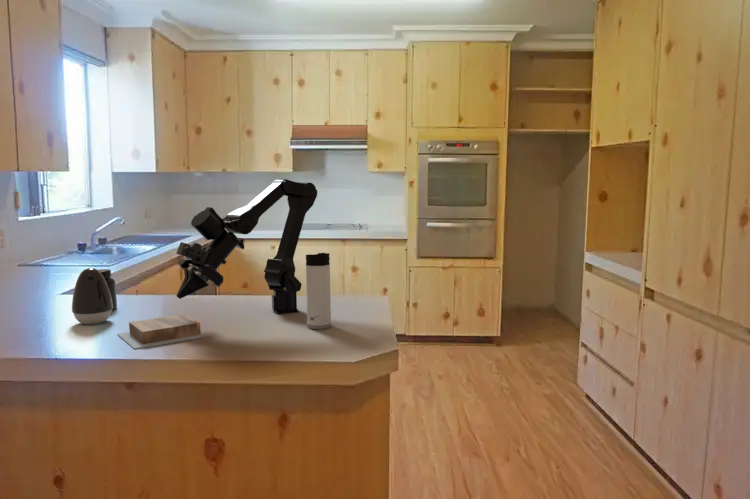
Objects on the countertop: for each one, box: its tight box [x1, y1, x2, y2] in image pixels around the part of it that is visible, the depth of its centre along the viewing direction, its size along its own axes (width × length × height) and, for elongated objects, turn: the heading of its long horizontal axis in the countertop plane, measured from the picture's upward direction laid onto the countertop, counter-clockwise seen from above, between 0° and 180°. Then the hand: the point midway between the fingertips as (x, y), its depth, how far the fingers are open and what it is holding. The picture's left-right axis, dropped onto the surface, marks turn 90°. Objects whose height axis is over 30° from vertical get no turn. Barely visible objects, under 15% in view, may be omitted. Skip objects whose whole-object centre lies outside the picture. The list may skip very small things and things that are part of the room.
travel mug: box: [305, 252, 332, 331], centre depth 154 cm, size 6×7×20 cm
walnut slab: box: [128, 313, 202, 344], centre depth 148 cm, size 3×12×14 cm
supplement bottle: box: [97, 268, 118, 311], centre depth 178 cm, size 7×7×12 cm
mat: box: [116, 331, 203, 350], centre depth 147 cm, size 16×16×1 cm
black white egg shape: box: [71, 267, 113, 326], centre depth 161 cm, size 10×10×15 cm
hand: (178, 297), depth 149 cm, fingers closed
